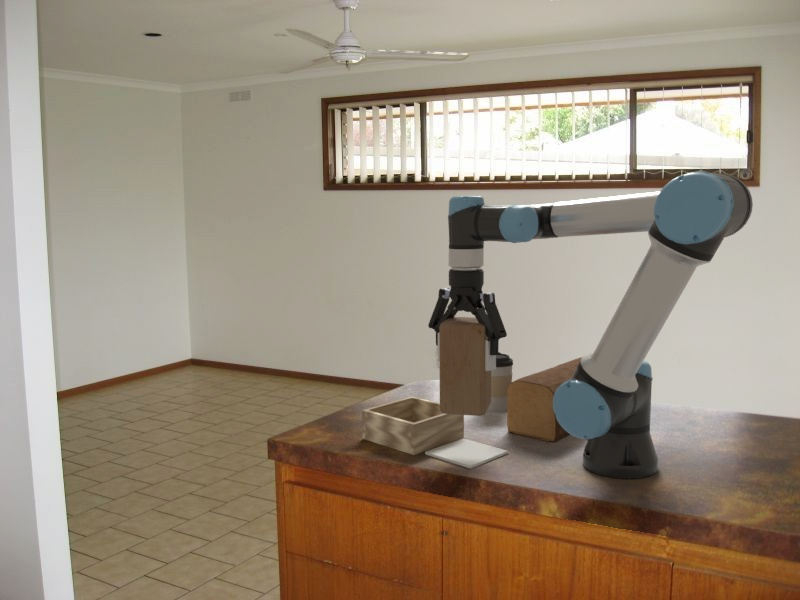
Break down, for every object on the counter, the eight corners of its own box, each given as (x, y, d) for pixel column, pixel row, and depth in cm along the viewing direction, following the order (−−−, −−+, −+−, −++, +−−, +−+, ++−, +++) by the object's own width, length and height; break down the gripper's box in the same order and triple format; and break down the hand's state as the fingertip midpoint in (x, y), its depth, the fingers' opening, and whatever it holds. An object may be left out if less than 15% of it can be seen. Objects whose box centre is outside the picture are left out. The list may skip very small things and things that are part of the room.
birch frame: (463, 437, 180) (463, 408, 179) (414, 455, 168) (413, 424, 167) (412, 423, 192) (412, 396, 191) (362, 438, 180) (362, 410, 179)
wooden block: (484, 417, 161) (485, 324, 158) (438, 414, 164) (438, 323, 161) (491, 405, 171) (492, 317, 168) (447, 402, 173) (447, 316, 170)
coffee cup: (515, 413, 199) (515, 357, 197) (480, 413, 199) (480, 358, 197) (510, 404, 208) (510, 350, 206) (477, 404, 208) (477, 351, 206)
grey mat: (508, 453, 168) (508, 450, 168) (470, 468, 159) (470, 465, 159) (463, 440, 178) (463, 438, 177) (425, 454, 168) (425, 451, 168)
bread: (620, 412, 200) (621, 359, 198) (555, 444, 175) (556, 384, 173) (572, 403, 209) (572, 352, 207) (504, 433, 184) (504, 375, 182)
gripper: (524, 270, 157) (522, 370, 160) (435, 263, 174) (435, 354, 177) (501, 273, 152) (501, 377, 154) (412, 266, 169) (413, 359, 172)
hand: (466, 365), depth 166 cm, fingers closed on wooden block, 13 cm apart
